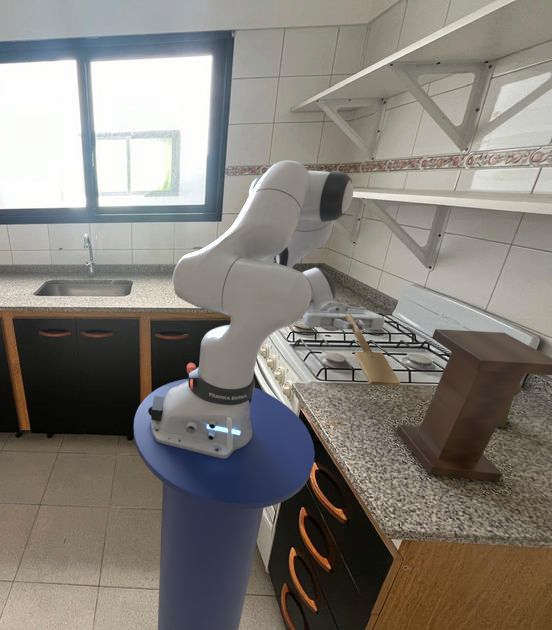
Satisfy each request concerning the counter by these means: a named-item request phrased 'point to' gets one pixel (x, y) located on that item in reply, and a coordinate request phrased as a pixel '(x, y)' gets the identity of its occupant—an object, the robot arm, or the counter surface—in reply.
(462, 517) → the counter surface
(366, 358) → the spatula
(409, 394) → the counter surface
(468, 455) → the stand
